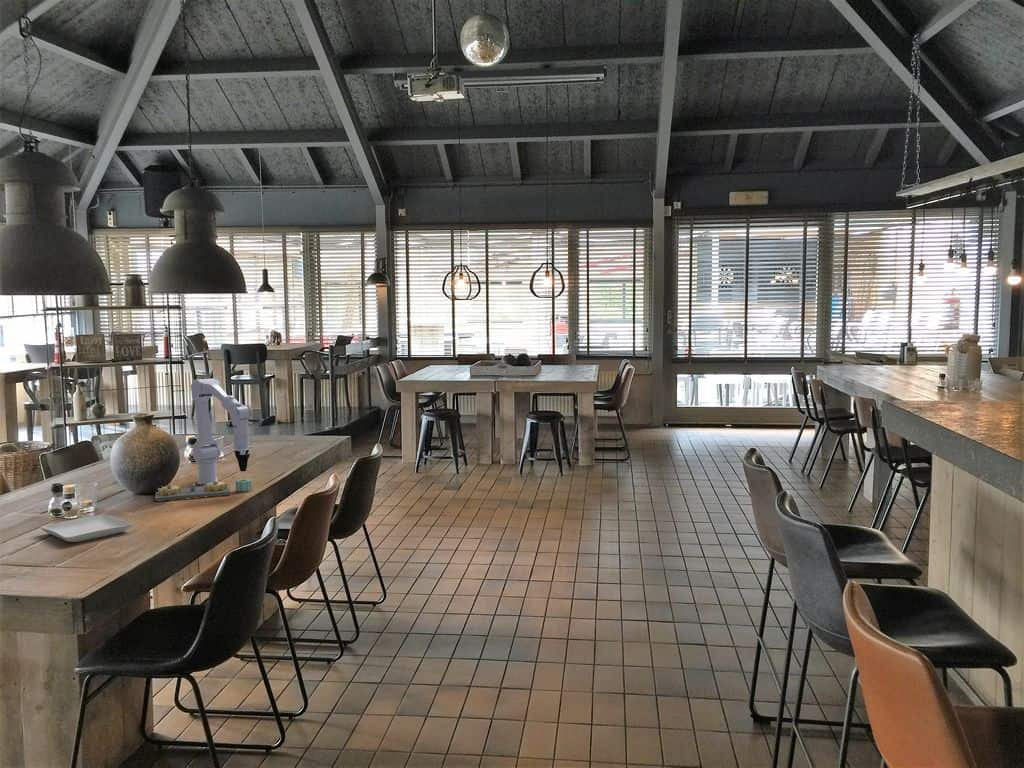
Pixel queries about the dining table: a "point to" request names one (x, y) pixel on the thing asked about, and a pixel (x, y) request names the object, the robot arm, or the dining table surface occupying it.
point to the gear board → (192, 491)
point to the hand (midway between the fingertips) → (242, 469)
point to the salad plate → (87, 528)
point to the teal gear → (243, 485)
